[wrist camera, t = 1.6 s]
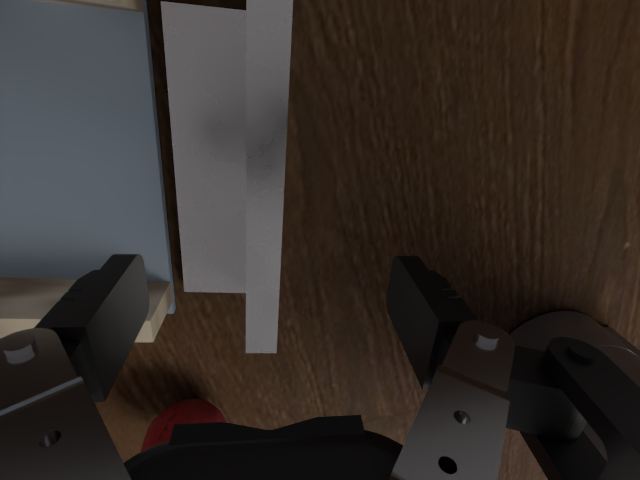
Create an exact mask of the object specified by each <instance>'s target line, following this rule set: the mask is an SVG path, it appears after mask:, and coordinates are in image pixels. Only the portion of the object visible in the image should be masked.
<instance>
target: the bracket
mask: <svg viewBox="0 0 640 480" xmlns="http://www.w3.org/2000/svg"><path fill="white" fill-rule="evenodd" d="M292 11H293V0H246V10H237V9H228V8H219V7H210V6H200V5H191V4H182V3H173V2H164V1H161V12H162V24H163V37H164V49H165V61H166V73H167V86H168V98H169V110H170V122H171V134H172V147H173V159H174V171H175V183H176V195H177V208H178V220H179V232H180V244H181V257H182V269H183V281H184V292H219V293H246V353H277V332H278V310H279V289H280V268H281V246H282V225H283V204H284V182H285V161H286V139H287V118H288V97H289V75H290V54H291V33H292Z"/></svg>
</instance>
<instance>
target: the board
mask: <svg viewBox="0 0 640 480" xmlns="http://www.w3.org/2000/svg"><path fill="white" fill-rule="evenodd" d="M142 2H143V12H137V11H128V10H118V9H109V8H99V7H90V6H80V5H71V4H61V3H52V2H42V1H33V0H0V278H34V279H72V280H77V279H79V278H81V277H82V276H84V275H86V274H87V273H89V272H91V271H93V270H100V269H101V267H102V266H103V265H104V264H105V263H106V261H107V260H108V259H109V258H110V257H111V256H112V255H113V254H140V255H141V256H142V258H143V261H144V267H145V273H146V280H147V281H149V282H170V285H171V295H172V303H171V305H170V307H169V309H168V311H167V313H166V314H173V313H174V311H175V309H176V307H175V296H174V286H173V275H172V265H171V254H170V244H169V233H168V223H167V212H166V202H165V191H164V181H163V170H162V160H161V149H160V139H159V128H158V118H157V107H156V97H155V86H154V76H153V65H152V55H151V44H150V34H149V23H148V13H147V2H146V0H142Z"/></svg>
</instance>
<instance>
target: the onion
mask: <svg viewBox="0 0 640 480" xmlns="http://www.w3.org/2000/svg"><path fill="white" fill-rule="evenodd" d="M211 422H225V423H226V421H225V419H224V417H223V415H222V413H221V411H220V410H219V409H218V408H216V407H215V406H214V405H212V404H211V403H209V402H208V401H205V400H201V399H186V400H183V401H180V402H178V403H176V404H173V405H171V406H170V407H168V408H167V409H166V410H164V411H163V412H162V413H161V414H160V415H158V416H157V417H156V418H155V419H154V420H153V422H152V423H151V425H150V426H149V428H148V430H147V433H146V436H145V438H144V441H143V445H142V449H141V452H143V451H145V450H147V449H149V448H151V447H153V446H156V445H159V444H161V443H164V442H167V441H170V438H171V434H172V431H173V427H174V424H191V423H211Z"/></svg>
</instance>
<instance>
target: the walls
mask: <svg viewBox="0 0 640 480" xmlns="http://www.w3.org/2000/svg"><path fill="white" fill-rule="evenodd" d="M33 1H42V2H52V3H61V4H71V5H80V6H90V7H99V8H109V9H118V10H128V11H137V12H143V2H142V0H33ZM76 281H77V280H72V279H34V278H0V339H1V338H3V337H5V336H7V335H9V334H12V333H15V332H18V331H22V330H26V329H32V328H34V327H35V326H36V325H37V324H38V323H39V322H40V321H41V319H42V318H43V317H44V316H45V315H46V314H47V313H48V312H49V311H50V309H51V308H52V307H53V306H54V305H55V304H56V303H57V302H58V301H60V298H61V297H62V296H63V295H64V294H65V293H66V292H68V289H69V288H70V287H71V286H72V285H73V284H74V283H75V282H76ZM147 286H148V292H149V311H148V315H147V318H146V320H145V322H144V324H143V326H142V328H141V330H140V332H139V334H138V336H137V338H136V340H135V342H154V339H155V337H156V335H157V333H158V331H159V329H160V326H161V324H162V322H163V320H164V318H165V316H166V313H167V311H168V309H169V307H170V305H171V303H172V295H171V285H170V282H149V281H147Z"/></svg>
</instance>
